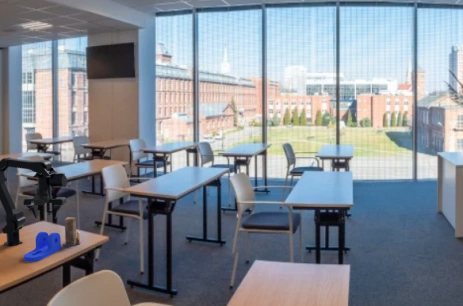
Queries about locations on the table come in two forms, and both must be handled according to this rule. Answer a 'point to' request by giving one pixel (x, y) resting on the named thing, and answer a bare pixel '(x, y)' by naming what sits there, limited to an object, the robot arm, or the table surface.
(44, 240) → the bracket
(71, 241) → the link block
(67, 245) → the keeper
